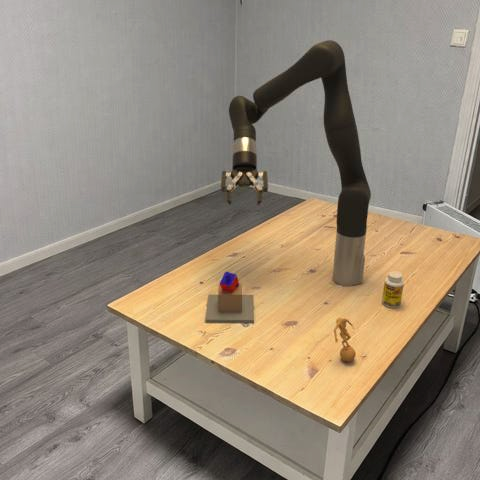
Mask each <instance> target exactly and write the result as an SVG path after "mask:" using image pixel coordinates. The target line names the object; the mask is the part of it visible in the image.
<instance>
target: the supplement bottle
mask: <svg viewBox="0 0 480 480" xmlns="http://www.w3.org/2000/svg"><path fill="white" fill-rule="evenodd" d="M404 285H405V282H404V280H403V274H402V273H401V272H400V271H396V270H395V271H389V272H388V274H387V277H386V278H384V284H383V291H382V299H381V302H382V305H383V306H385V307H388V308H390V309H391V308H392V309H393V308H398V307H400V305H401V303H402V297H403V292H404V291H403V290H404Z"/></svg>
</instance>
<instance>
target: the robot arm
mask: <svg viewBox="0 0 480 480" xmlns="http://www.w3.org/2000/svg"><path fill="white" fill-rule="evenodd" d="M345 58H346V57H345V52H344V50H343V47H342V46H341V45H340V44H339V43H338V42H337V41H335V40H324V41H321V42H318V43H316V44H314V45H313V46H311V47H310V48H309V49H308V51H306V52H305V54H303V55H302V56H301V57H300V58H299V59H298V60H297V61H296V62H294V64H292V65H291V66H290V67H288V68H287V69H286V70H284V71H283V72H281V73H280V74H278V75H276V76H274V77H273V78H272V79H270V80H268V81H267V82H266V83H264V84H262V85H261V86H259V87H258V88H257V89H255V90H254V92H253V93H252V98H253V100H250V99H248V98H247V97H246V96H243V95H237V96H234V97H233V98H232V99H231V101H230V102H229V106H228V115H229V118H230V119H229V120H230V122H231V123H230V124H231V127H232V130H233V145H232V162H231V163H232V164H231V165H232V170H231V171H230V172H226V170H222V171H221V181H220V190H221V192H224V193H226V202H227V203H228V205H232V192H233V190H235V189H236V188H237V187H238V186H239V188H242V187H248V188H250V187H252V189H254V190H255V191H256V193H257V194H256V197H257V199H256V200H257V201H256V204H257V206H258V205H260V204H262V202H263V193H267V192H268V191H269V180H268V179H269V178H268V171H266V170H264V171H262V172H258V165H257V164H258V162H257V161H258V159H257V158H258V152H257V151H258V149H257V131H256V128H255V126H254V124H256V123H257V122H259V121H260V120H261V118H262V117H263V116H264V115H265V114H266V113H267V112H268V111H269V110H270V108H272V107H274V106H275V105H277V104H278V103H280V102H282V101H283V100H285V99H286V98H287V97H289V96H290V95H291V94H292V93H294V92H295V91H296V90H298V89H299V88H301V87H303V86H304V85H306V84H308V83H310V82H313V81H316V80H319V79H320V78H321V82H322V86H323V92H324V103H323V104H324V106H323V128H324V132H325V137H326V143H327V144H328V148H329V150H330V152H331V155H332V156H333V160H335V162H336V165H337V167H338V171H339V177H340V184H341V185H340V186H341V191H340V193H339V195H338V199H337V207H336V208H337V209H336V210H337V211H336V234H335V243H334V244H335V247H334V255H333V256H334V257H333V268H332V280H333V282H334V283H336V284H338V285H341V286H347V287H348V286H351V287H352V286H356V285H358V284H363V279H364V278H363V277H364V271H365V262H366V261H365V260H366V256H365V255H364V254H365V246H366V238H367V237H366V236H367V229H368V225H367V223H368V215H369V214H368V213H369V205H370V202H371V196H372V194H371V193H372V192H371V191H372V190H371V188H370V185H369V181H368V180H367V177H366V176H367V175H366V173H365V169H364V166H363V162H362V161H363V160H362V153H361V145H360V139H359V138H360V137H359V132H358V127H357V122H356V119H355V118H356V117H355V114H354V109H353V105H352V100H351V96H350V91H349V86H348V77H347V70H346V69H347V68H346V66H347V65H346V59H345ZM229 178H231V179H232V180H231V181H230V183H229V184H228V186H226V183H227V180H229ZM258 178H259V179H260V180H262V184H263V186H261V185H260V183H259V182H258V181H257V179H258Z"/></svg>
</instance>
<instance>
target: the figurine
mask: <svg viewBox="0 0 480 480" xmlns="http://www.w3.org/2000/svg"><path fill="white" fill-rule="evenodd" d="M335 323H336V325H335V327H334V329H333V333H334V341H335V343H339V342H338V341H339V339H338V338H337V337H338V335H337V329H339V331H340V332H339V336H340V337H341V339H342V341H341V344H342V348H341V349H340V350H339V356H340V358H341V360H342V361H343V362H346V363H349V362H352V361H354V360H355V358H356V356H357V355H356V350H355V349H354V347H352V346H351V345H350V344H349V343H348V341H349V340H351V338H352V336H351V335H350V333H349V331H348V329H347V328H346V327H347V323H348V324H349V325H350V326H351V327H352V329H353V330H355V328H354V325H353V324H352V322H351V321H350V320H349V319H347V318H345V317H344V318H343V317H338V318H337V319H336V321H335ZM345 344H346V345H345Z"/></svg>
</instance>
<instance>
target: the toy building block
mask: <svg viewBox="0 0 480 480" xmlns="http://www.w3.org/2000/svg"><path fill="white" fill-rule="evenodd" d="M219 284H220V286H221V288H222V290H225V291H229V292H234V290H235V287H236V286H239V284H240V281H239V278H238V275H237V273H233V272H230V271H224V274H223V276H222V278H221V280H220V282H219Z"/></svg>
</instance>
